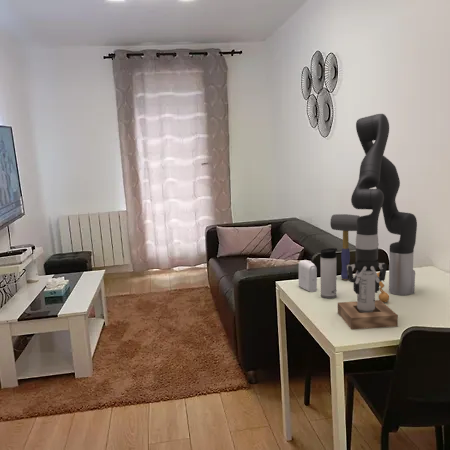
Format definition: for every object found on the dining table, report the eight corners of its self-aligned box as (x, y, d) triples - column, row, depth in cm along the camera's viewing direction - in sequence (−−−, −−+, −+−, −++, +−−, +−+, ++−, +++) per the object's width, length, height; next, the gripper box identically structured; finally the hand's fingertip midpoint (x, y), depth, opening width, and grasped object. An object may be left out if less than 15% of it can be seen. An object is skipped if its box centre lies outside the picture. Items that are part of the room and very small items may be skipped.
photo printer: (318, 291, 209) (318, 262, 207) (309, 292, 207) (309, 264, 205) (305, 284, 218) (305, 257, 216) (297, 286, 217) (297, 258, 215)
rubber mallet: (329, 280, 224) (329, 215, 218) (334, 276, 230) (334, 212, 225) (357, 283, 217) (357, 216, 212) (361, 278, 224) (362, 213, 219)
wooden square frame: (379, 310, 184) (380, 299, 183) (397, 326, 168) (397, 315, 167) (337, 312, 183) (337, 302, 182) (351, 329, 167) (351, 318, 166)
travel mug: (337, 299, 198) (337, 250, 194) (320, 298, 199) (320, 250, 196) (337, 294, 204) (337, 247, 200) (320, 293, 205) (320, 246, 202)
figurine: (386, 306, 188) (386, 275, 186) (370, 303, 191) (370, 273, 189) (391, 299, 195) (392, 270, 192) (376, 297, 198) (377, 268, 196)
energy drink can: (378, 312, 173) (378, 270, 170) (362, 314, 171) (362, 272, 169) (369, 306, 178) (370, 266, 176) (354, 308, 177) (354, 268, 175)
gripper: (383, 243, 175) (382, 288, 178) (343, 244, 174) (342, 290, 177) (391, 247, 167) (390, 294, 170) (349, 249, 167) (349, 297, 170)
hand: (366, 292), depth 174 cm, fingers closed on energy drink can, 6 cm apart
